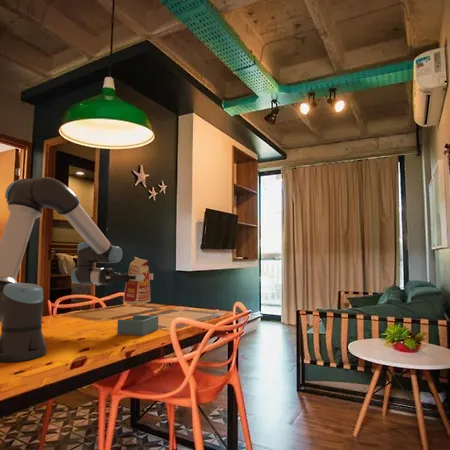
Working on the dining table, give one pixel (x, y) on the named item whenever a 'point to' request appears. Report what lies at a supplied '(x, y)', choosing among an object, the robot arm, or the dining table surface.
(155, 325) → the box
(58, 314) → the dining table surface
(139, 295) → the milk carton
